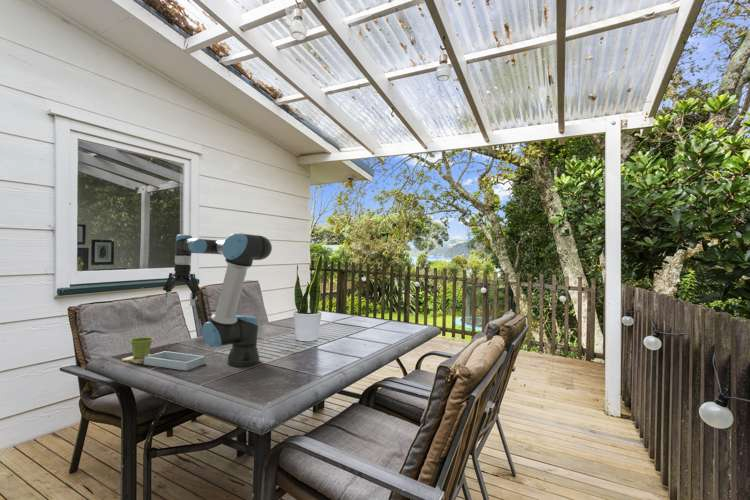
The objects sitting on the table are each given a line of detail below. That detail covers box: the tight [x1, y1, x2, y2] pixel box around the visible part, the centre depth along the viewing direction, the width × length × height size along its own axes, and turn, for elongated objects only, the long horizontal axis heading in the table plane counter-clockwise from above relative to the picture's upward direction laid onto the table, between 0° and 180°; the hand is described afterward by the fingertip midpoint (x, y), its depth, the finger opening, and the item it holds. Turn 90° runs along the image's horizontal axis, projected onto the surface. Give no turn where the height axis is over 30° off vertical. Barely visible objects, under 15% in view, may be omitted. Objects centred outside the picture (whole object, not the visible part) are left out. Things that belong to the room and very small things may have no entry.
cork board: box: [120, 353, 152, 365], centre depth 180 cm, size 12×12×1 cm
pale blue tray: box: [143, 350, 206, 371], centre depth 175 cm, size 24×12×4 cm, turn 76°
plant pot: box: [129, 337, 154, 359], centre depth 180 cm, size 9×9×9 cm
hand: (180, 304), depth 193 cm, fingers open, 13 cm apart
